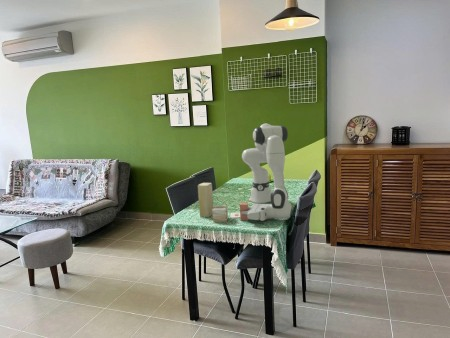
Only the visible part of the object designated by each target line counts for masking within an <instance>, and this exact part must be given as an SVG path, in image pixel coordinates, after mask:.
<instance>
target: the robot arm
mask: <svg viewBox="0 0 450 338" xmlns="http://www.w3.org/2000/svg"><path fill="white" fill-rule="evenodd" d="M288 138H289V131H288V128H287V127H286V126H284V125H272V124H269V123H266V122H265V123H263V124H261V125H260V126H259V127H255V128H254V129H253V131H252V139H253V141H254V146H255V147H253V148H252V147H251V148H247V149H244V150H243V151H242V153H241V159H242V161H243V162H244V163H245V164H246V165H248V167H249V168H250V171H251V172H252V188H251V190H250V197H249V198H248V201H249V202H252V203H253V204H252V205H251V206H248V211H242V214H245V215H247V217H248V220H255V221H258V220H259V221H261V222H264V221H266V220H271V219H277V220H286V219H289V218H291V216H292V215H293V214H292V213H293V206H292V204H291V203H290V201H289V193H288V190H287V189H286V186H285V180H284V179H285V177H284V169H285V161H286V154H285V153H286V151H285V145H284V142H287V140H288ZM264 163H267V165H268V167H269V168H270V170H271V172H272V176H273V186H274V187H273V190H272V189H271V188H270V181H269V172H268V169H266V168H265V167H262V166H261V165H260V164H264Z"/></svg>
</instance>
